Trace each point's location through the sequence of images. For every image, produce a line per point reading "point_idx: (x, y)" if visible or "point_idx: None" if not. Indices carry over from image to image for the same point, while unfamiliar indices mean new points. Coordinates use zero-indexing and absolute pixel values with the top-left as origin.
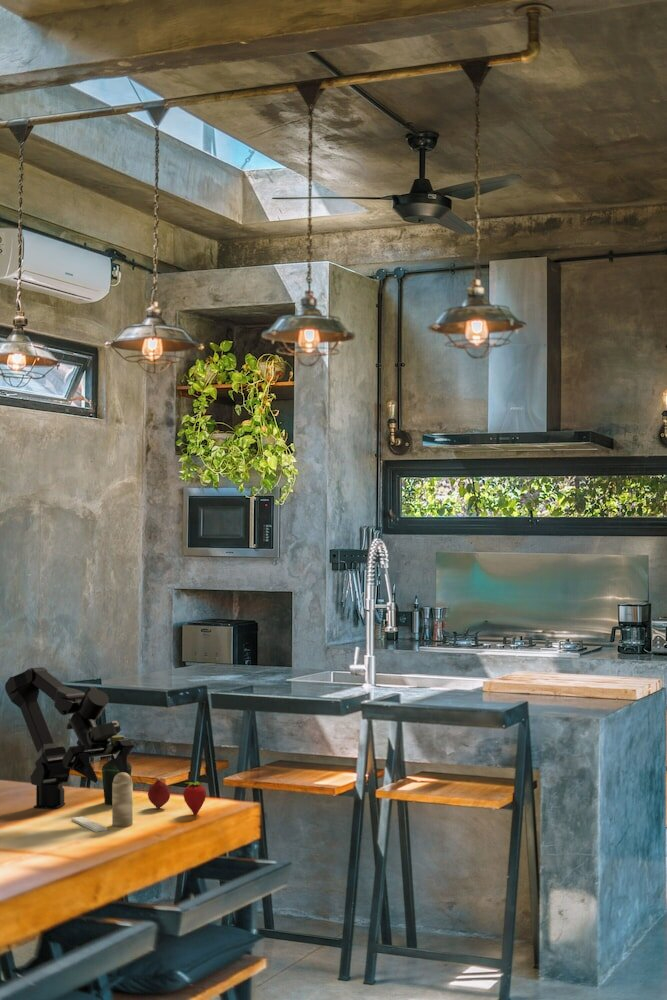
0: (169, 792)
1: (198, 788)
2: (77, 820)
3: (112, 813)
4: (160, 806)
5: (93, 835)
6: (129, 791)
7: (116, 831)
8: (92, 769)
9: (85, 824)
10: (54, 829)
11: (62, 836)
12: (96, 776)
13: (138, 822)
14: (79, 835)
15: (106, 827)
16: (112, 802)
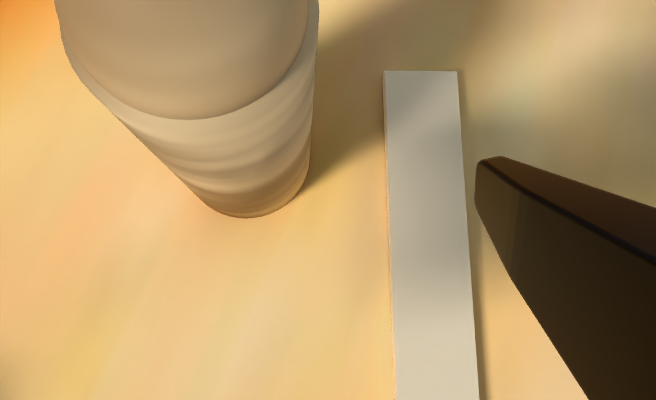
0: None
1: None
2: (475, 380)
3: (309, 149)
4: None
5: (489, 7)
6: None
7: (347, 22)
8: (621, 231)
9: (467, 228)
10: None
11: (643, 79)
12: (507, 179)
13: (132, 165)
14: (555, 49)
15: (385, 77)
16: (311, 120)
